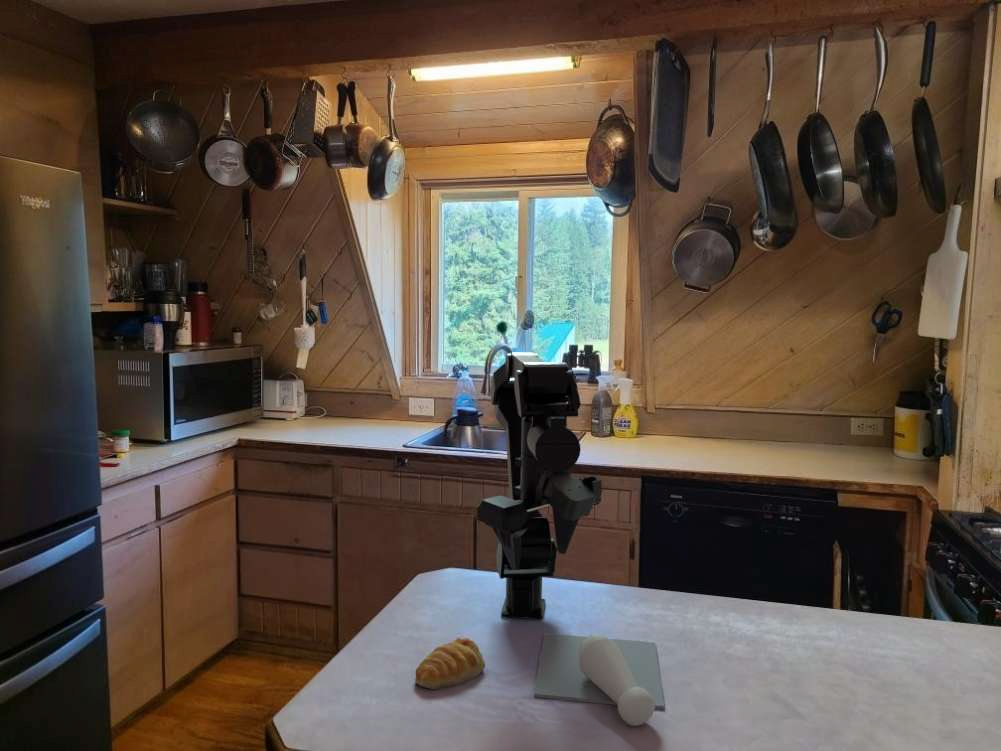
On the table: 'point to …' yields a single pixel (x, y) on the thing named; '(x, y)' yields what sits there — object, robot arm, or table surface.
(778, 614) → the table surface
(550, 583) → the table surface
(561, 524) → the robot arm
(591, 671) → the salt shaker
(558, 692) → the slate mat
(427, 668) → the pastry
